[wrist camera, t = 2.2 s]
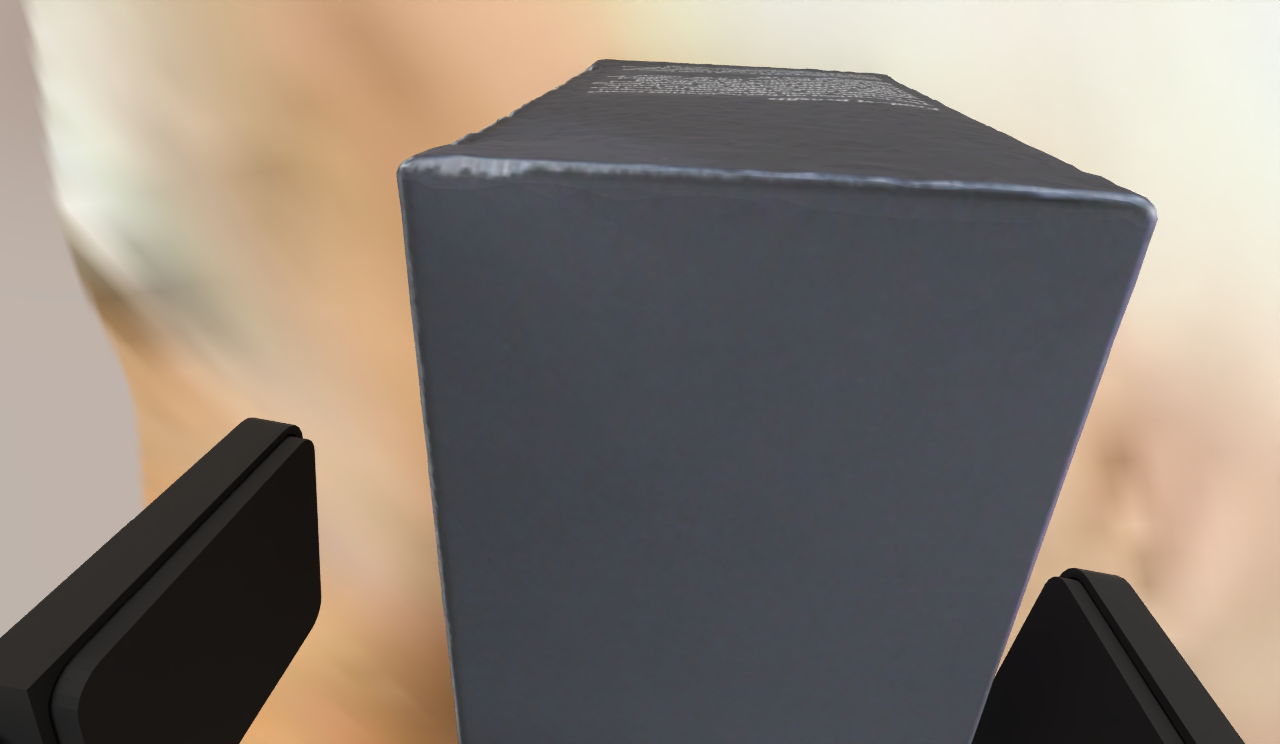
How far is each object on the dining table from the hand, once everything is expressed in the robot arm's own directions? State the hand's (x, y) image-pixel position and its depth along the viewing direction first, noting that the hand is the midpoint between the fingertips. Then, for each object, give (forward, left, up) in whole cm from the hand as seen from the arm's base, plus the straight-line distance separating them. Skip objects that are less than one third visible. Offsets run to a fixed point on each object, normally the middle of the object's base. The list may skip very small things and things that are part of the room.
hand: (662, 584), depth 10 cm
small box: (-1, 0, -9) cm, 9 cm away
